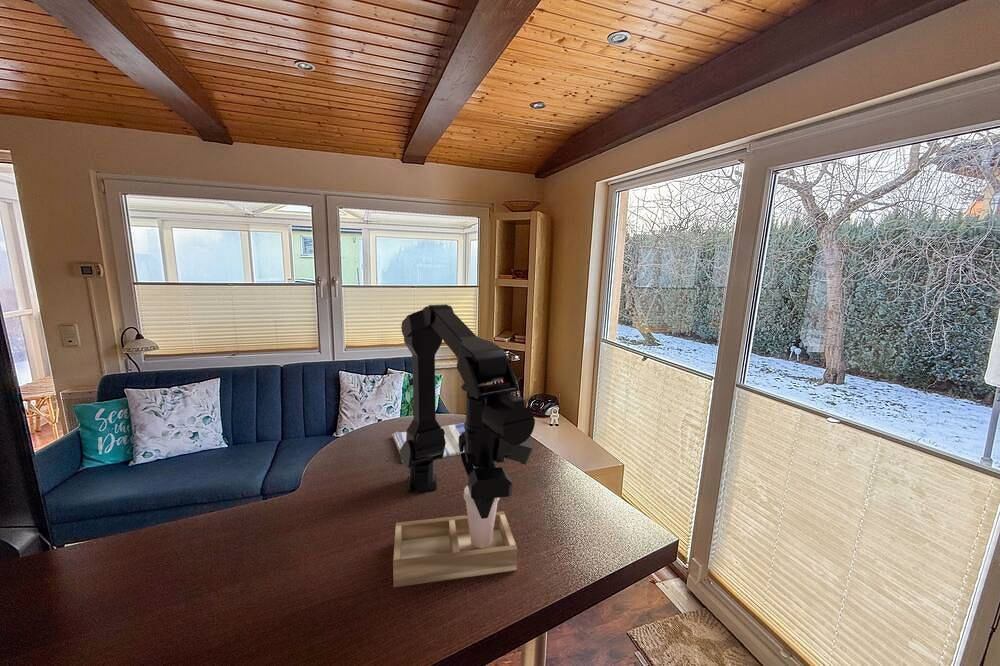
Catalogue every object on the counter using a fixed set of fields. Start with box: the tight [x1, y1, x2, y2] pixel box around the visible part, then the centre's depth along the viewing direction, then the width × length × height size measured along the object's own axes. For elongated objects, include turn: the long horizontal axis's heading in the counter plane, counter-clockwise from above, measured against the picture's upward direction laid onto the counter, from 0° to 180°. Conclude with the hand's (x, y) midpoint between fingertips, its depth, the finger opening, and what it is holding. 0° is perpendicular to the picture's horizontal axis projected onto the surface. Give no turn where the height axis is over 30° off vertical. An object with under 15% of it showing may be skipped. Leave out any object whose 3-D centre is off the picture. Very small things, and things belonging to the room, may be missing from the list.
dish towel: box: [391, 422, 465, 464], centre depth 114 cm, size 17×24×3 cm
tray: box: [392, 511, 518, 588], centre depth 70 cm, size 10×20×4 cm, turn 102°
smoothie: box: [463, 484, 501, 548], centre depth 70 cm, size 6×6×14 cm
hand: (481, 506), depth 70 cm, fingers closed on smoothie, 6 cm apart
